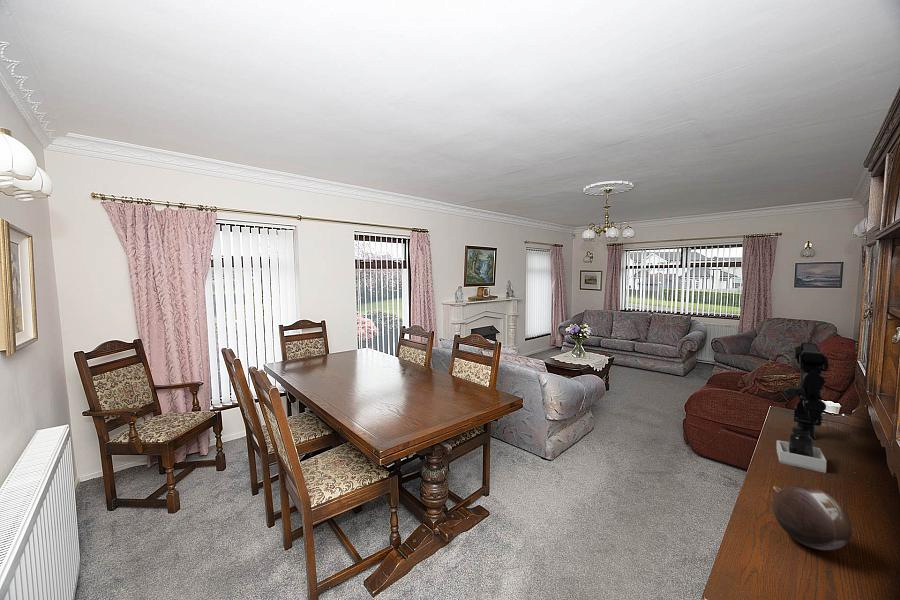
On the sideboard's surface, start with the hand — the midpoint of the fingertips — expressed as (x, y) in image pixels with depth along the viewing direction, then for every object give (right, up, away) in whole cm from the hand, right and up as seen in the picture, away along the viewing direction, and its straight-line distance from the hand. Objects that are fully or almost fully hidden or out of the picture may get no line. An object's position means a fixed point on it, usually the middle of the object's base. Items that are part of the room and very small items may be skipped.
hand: (810, 419), depth 150 cm
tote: (-13, -14, -8) cm, 20 cm away
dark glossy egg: (-52, -17, -52) cm, 76 cm away
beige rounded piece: (-42, -16, -35) cm, 57 cm away
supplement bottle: (-12, -13, -8) cm, 20 cm away
